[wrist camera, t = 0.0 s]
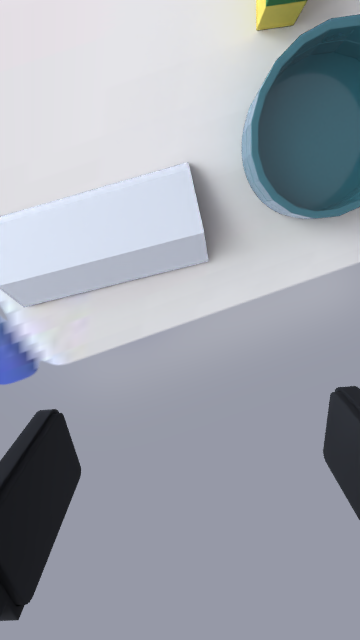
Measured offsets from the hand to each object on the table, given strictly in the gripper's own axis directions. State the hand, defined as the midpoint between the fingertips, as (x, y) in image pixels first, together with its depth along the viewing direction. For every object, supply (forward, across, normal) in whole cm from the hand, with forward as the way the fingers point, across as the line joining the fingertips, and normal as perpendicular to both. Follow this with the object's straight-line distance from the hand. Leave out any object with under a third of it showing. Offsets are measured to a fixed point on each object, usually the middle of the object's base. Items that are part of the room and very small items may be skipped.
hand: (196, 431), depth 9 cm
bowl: (+31, -17, -14) cm, 38 cm away
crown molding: (+31, +12, -5) cm, 34 cm away
